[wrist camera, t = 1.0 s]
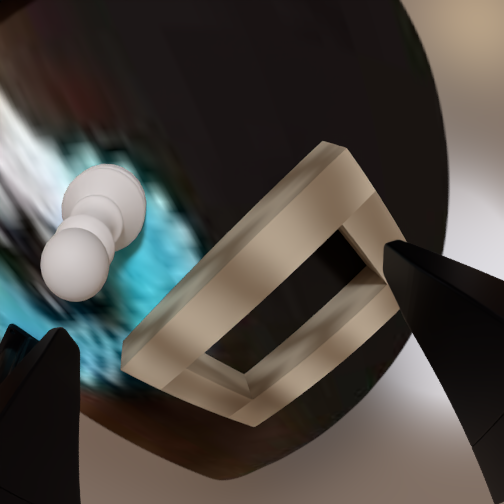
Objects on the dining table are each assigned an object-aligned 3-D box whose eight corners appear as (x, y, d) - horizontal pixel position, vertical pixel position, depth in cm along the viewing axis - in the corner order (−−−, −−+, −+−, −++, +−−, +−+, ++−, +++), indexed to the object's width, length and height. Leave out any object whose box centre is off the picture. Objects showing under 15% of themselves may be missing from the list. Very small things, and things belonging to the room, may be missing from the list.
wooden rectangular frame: (246, 403, 28) (254, 427, 26) (122, 341, 22) (120, 369, 19) (406, 263, 26) (427, 280, 23) (322, 141, 19) (346, 148, 16)
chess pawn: (131, 150, 16) (99, 191, 9) (157, 227, 19) (155, 318, 11) (57, 180, 16) (-15, 243, 8) (87, 252, 18) (49, 349, 10)
